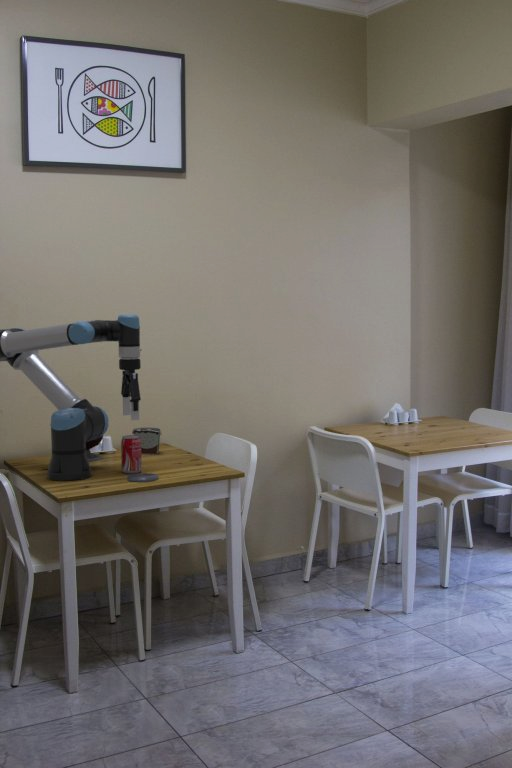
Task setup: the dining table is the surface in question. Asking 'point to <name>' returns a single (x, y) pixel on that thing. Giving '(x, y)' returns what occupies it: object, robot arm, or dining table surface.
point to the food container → (148, 439)
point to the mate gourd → (90, 445)
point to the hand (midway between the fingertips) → (131, 417)
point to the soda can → (131, 454)
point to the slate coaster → (142, 477)
